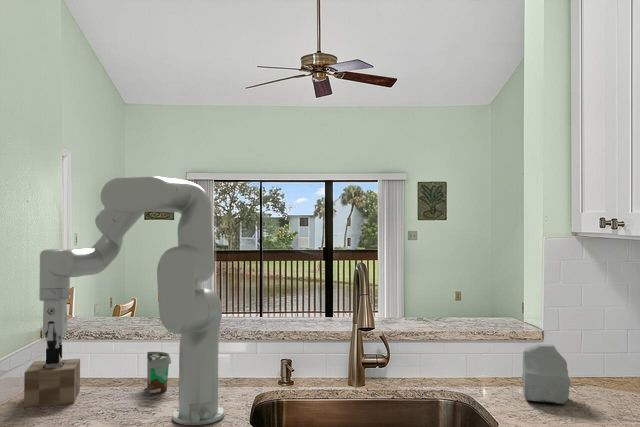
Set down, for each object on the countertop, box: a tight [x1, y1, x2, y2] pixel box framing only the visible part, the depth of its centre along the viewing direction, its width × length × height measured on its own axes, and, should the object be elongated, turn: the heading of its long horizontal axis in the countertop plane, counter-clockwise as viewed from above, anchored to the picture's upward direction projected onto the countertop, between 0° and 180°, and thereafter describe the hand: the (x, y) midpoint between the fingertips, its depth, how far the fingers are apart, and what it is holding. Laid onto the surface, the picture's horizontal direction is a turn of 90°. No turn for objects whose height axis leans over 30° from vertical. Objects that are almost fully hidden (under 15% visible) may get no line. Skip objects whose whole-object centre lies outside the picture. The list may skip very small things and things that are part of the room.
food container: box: [146, 351, 172, 397], centre depth 161 cm, size 12×6×10 cm, turn 22°
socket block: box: [23, 358, 81, 408], centre depth 153 cm, size 12×12×9 cm
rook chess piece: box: [45, 338, 63, 368], centre depth 153 cm, size 4×4×8 cm
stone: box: [522, 343, 572, 405], centre depth 153 cm, size 12×12×15 cm
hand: (54, 360), depth 153 cm, fingers closed on rook chess piece, 4 cm apart
